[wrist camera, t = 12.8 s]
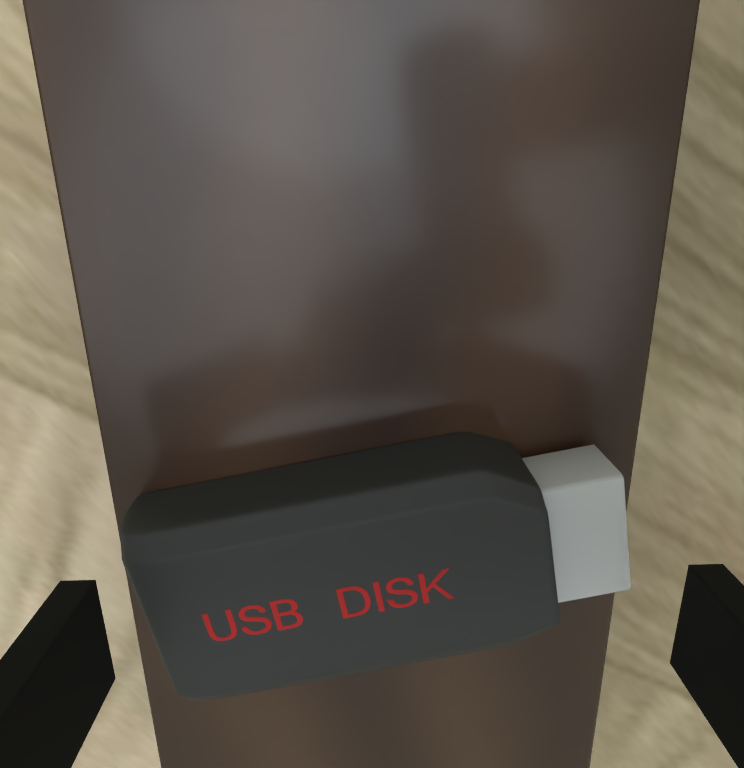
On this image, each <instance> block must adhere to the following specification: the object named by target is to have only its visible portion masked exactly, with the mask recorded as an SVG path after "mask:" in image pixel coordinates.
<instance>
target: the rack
mask: <svg viewBox="0 0 744 768" xmlns="http://www.w3.org/2000/svg"><path fill="white" fill-rule="evenodd" d="M699 3H700V0H23V5H24V10H25V16H26V21H27V27H28V33H29V38H30V44H31V49H32V55H33V60H34V66H35V71H36V77H37V82H38V88H39V93H40V99H41V104H42V110H43V115H44V121H45V127H46V132H47V138H48V143H49V149H50V154H51V160H52V165H53V171H54V176H55V182H56V187H57V193H58V198H59V204H60V209H61V215H62V221H63V226H64V232H65V237H66V243H67V248H68V254H69V259H70V265H71V270H72V276H73V281H74V287H75V292H76V298H77V304H78V309H79V315H80V320H81V326H82V331H83V337H84V342H85V348H86V353H87V359H88V364H89V370H90V375H91V381H92V386H93V392H94V398H95V403H96V409H97V414H98V420H99V425H100V431H101V436H102V442H103V447H104V453H105V458H106V464H107V469H108V475H109V480H110V486H111V492H112V497H113V503H114V508H115V514H116V519H117V525H118V530H119V536H120V525H121V522H122V520H123V518H124V516H125V514H126V512H127V511H128V509H129V508H130V506H131V505H132V503H133V502H134V500H135V499H136V498H137V497H138V496H140V495H142V494H145V493H149V492H154V491H159V490H164V489H169V488H174V487H179V486H184V485H189V484H194V483H199V482H204V481H210V480H215V479H220V478H225V477H230V476H235V475H240V474H246V473H251V472H256V471H261V470H266V469H271V468H276V467H281V466H287V465H292V464H297V463H302V462H307V461H312V460H317V459H323V458H328V457H333V456H338V455H343V454H348V453H353V452H359V451H364V450H369V449H374V448H379V447H384V446H389V445H394V444H400V443H405V442H410V441H415V440H420V439H425V438H430V437H436V436H441V435H446V434H452V433H458V432H469V433H474V434H478V435H482V436H486V437H490V438H493V439H497V440H501V441H505V442H509V443H511V444H513V445H514V447H515V448H516V450H517V451H518V453H519V455H520V456H521V458H526V457H531V456H536V455H541V454H547V453H552V452H557V451H562V450H567V449H572V448H578V447H583V446H588V445H593V444H594V445H595V446H596V447H597V448H598V449H599V450H600V451H601V452H602V453H603V454H604V456H605V457H606V458H607V459H608V460H609V461H610V462H611V463H612V464H613V465H614V466H615V467H616V468H617V469H618V470H619V471H620V472H621V474H622V475H623V478H624V488H625V504H626V510H627V503H628V496H629V489H630V482H631V475H632V468H633V461H634V454H635V447H636V440H637V433H638V427H639V420H640V413H641V406H642V399H643V392H644V385H645V378H646V371H647V364H648V357H649V350H650V343H651V336H652V329H653V322H654V315H655V308H656V301H657V294H658V288H659V281H660V274H661V267H662V260H663V253H664V246H665V239H666V232H667V225H668V218H669V211H670V204H671V197H672V190H673V183H674V176H675V169H676V162H677V155H678V149H679V142H680V135H681V128H682V121H683V114H684V107H685V100H686V93H687V86H688V79H689V72H690V65H691V58H692V51H693V44H694V37H695V30H696V23H697V16H698V9H699ZM120 541H121V538H120ZM126 574H127V571H126ZM127 580H128V586H129V591H130V597H131V602H132V608H133V613H134V619H135V624H136V630H137V635H138V641H139V646H140V652H141V657H142V663H143V668H144V674H145V680H146V685H147V691H148V696H149V702H150V707H151V713H152V718H153V724H154V729H155V735H156V740H157V746H158V751H159V757H160V763H161V768H589V767H590V760H591V753H592V746H593V739H594V732H595V725H596V718H597V712H598V705H599V698H600V691H601V684H602V677H603V670H604V663H605V656H606V649H607V642H608V635H609V628H610V621H611V614H612V607H613V600H614V593H615V592H614V593H609V594H603V595H598V596H592V597H587V598H582V599H576V600H571V601H565V602H560V603H558V605H559V614H560V623H559V624H558V625H556V626H554V627H552V628H549V629H547V630H545V631H542V632H540V633H538V634H535V635H533V636H531V637H528V638H526V639H523V640H521V641H519V642H516V643H514V644H511V645H508V646H504V647H499V648H494V649H489V650H484V651H478V652H473V653H467V654H462V655H456V656H451V657H445V658H440V659H434V660H429V661H423V662H418V663H413V664H407V665H402V666H396V667H391V668H385V669H380V670H374V671H369V672H363V673H358V674H352V675H347V676H341V677H336V678H330V679H325V680H320V681H314V682H309V683H303V684H298V685H292V686H287V687H281V688H276V689H270V690H265V691H259V692H254V693H248V694H243V695H237V696H232V697H227V698H220V699H212V700H205V701H198V700H189V699H186V698H182V697H180V696H179V695H178V694H177V693H176V692H175V690H174V688H173V686H172V683H171V681H170V678H169V676H168V673H167V671H166V668H165V666H164V664H163V661H162V659H161V656H160V654H159V651H158V649H157V646H156V644H155V641H154V639H153V636H152V634H151V631H150V629H149V626H148V624H147V621H146V619H145V616H144V614H143V611H142V609H141V606H140V604H139V601H138V599H137V596H136V594H135V591H134V589H133V586H132V584H131V581H130V579H129V576H128V574H127Z"/></svg>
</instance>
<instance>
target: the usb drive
mask: <svg viewBox="0 0 744 768" xmlns="http://www.w3.org/2000/svg"><path fill="white" fill-rule="evenodd" d="M120 538H121V551H122V560H123V564H124V566H125V569H126V571H127V574H128V576H129V579H130V581H131V584H132V586H133V589H134V591H135V594H136V596H137V599H138V601H139V604H140V606H141V609H142V611H143V614H144V616H145V619H146V621H147V624H148V626H149V629H150V631H151V634H152V636H153V639H154V641H155V644H156V646H157V649H158V651H159V654H160V656H161V659H162V661H163V664H164V666H165V668H166V671H167V673H168V676H169V678H170V681H171V683H172V686H173V688H174V690H175V692H176V693H177V694H178V695H179V696H180V697H182V698H186V699H189V700H198V701H205V700H212V699H220V698H227V697H232V696H237V695H243V694H248V693H254V692H259V691H265V690H270V689H276V688H281V687H287V686H292V685H298V684H303V683H309V682H314V681H320V680H325V679H330V678H336V677H341V676H347V675H352V674H358V673H363V672H369V671H374V670H380V669H385V668H391V667H396V666H402V665H407V664H413V663H418V662H423V661H429V660H434V659H440V658H445V657H451V656H456V655H462V654H467V653H473V652H478V651H484V650H489V649H494V648H499V647H504V646H508V645H511V644H514V643H516V642H519V641H521V640H523V639H526V638H528V637H531V636H533V635H535V634H538V633H540V632H542V631H545V630H547V629H549V628H552V627H554V626H556V625H558V624H559V623H560V614H559V605H558V603H560V602H565V601H571V600H576V599H582V598H587V597H592V596H598V595H603V594H609V593H614V592H619V591H625V590H630V588H631V586H630V570H629V553H628V537H627V520H626V504H625V488H624V478H623V475H622V474H621V472H620V471H619V470H618V469H617V468H616V467H615V466H614V465H613V464H612V463H611V462H610V461H609V460H608V459H607V458H606V457H605V456H604V454H603V453H602V452H601V451H600V450H599V449H598V448H597V447H596V446H595V445H594V444H593V445H588V446H583V447H578V448H572V449H567V450H562V451H557V452H552V453H547V454H541V455H536V456H531V457H526V458H521V456H520V455H519V453H518V451H517V450H516V448H515V447H514V445H513V444H511V443H509V442H505V441H501V440H497V439H493V438H490V437H486V436H482V435H478V434H474V433H469V432H458V433H452V434H446V435H441V436H436V437H430V438H425V439H420V440H415V441H410V442H405V443H400V444H394V445H389V446H384V447H379V448H374V449H369V450H364V451H359V452H353V453H348V454H343V455H338V456H333V457H328V458H323V459H317V460H312V461H307V462H302V463H297V464H292V465H287V466H281V467H276V468H271V469H266V470H261V471H256V472H251V473H246V474H240V475H235V476H230V477H225V478H220V479H215V480H210V481H204V482H199V483H194V484H189V485H184V486H179V487H174V488H169V489H164V490H159V491H154V492H149V493H145V494H142V495H140V496H138V497H137V498H136V499H135V500H134V502H133V503H132V505H131V506H130V508H129V509H128V511H127V512H126V514H125V516H124V518H123V520H122V522H121V525H120Z"/></svg>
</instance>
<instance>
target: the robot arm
mask: <svg viewBox="0 0 744 768" xmlns="http://www.w3.org/2000/svg"><path fill="white" fill-rule="evenodd" d="M670 664H671V665H672V667H673V668H674V670H675V671H676V673H677V674H678V676H679V677H680V679H681V680H682V682H683V684H684V685H685V687H686V688H687V690H688V691H689V693H690V694H691V696H692V697H693V699H694V700H695V702H696V703H697V705H698V707H699V708H700V710H701V711H702V713H703V714H704V716H705V717H706V719H707V720H708V722H709V723H710V725H711V726H712V728H713V730H714V731H715V733H716V734H717V736H718V737H719V739H720V740H721V742H722V743H723V745H724V746H725V748H726V749H727V751H728V753H729V754H730V756H731V757H732V759H733V760H734V762H735V763H736V765H737V766H738V768H744V586H743V584H742V583H741V582H740V581H739V580H738V579H737V578H736V577H735V576H734V575H733V574H732V573H731V572H730V571H729V570H728V569H727V568H726V567H725V566H724V565H723V564H704V565H689V566H688V571H687V577H686V582H685V587H684V592H683V597H682V603H681V608H680V613H679V618H678V623H677V629H676V634H675V639H674V644H673V649H672V655H671V660H670ZM114 680H115V674H114V669H113V664H112V659H111V654H110V649H109V644H108V639H107V634H106V629H105V624H104V620H103V615H102V610H101V605H100V600H99V595H98V590H97V585H96V580H79V581H60V582H59V583H58V585H57V586H56V587H55V589H54V590H53V591H52V593H51V594H50V595H49V597H48V598H47V599H46V600H45V602H44V603H43V604H42V606H41V607H40V608H39V610H38V611H37V612H36V614H35V615H34V616H33V618H32V619H31V620H30V622H29V623H28V624H27V625H26V627H25V628H24V629H23V631H22V632H21V633H20V635H19V636H18V637H17V639H16V640H15V641H14V643H13V644H12V645H11V647H10V648H9V649H8V650H7V652H6V653H5V654H4V656H3V657H2V658H1V660H0V768H71V767H72V765H73V763H74V761H75V759H76V757H77V755H78V753H79V751H80V749H81V747H82V745H83V742H84V740H85V738H86V736H87V734H88V732H89V730H90V728H91V726H92V724H93V722H94V720H95V718H96V716H97V714H98V712H99V710H100V708H101V706H102V704H103V702H104V700H105V698H106V696H107V694H108V692H109V690H110V688H111V686H112V684H113V682H114Z"/></svg>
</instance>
